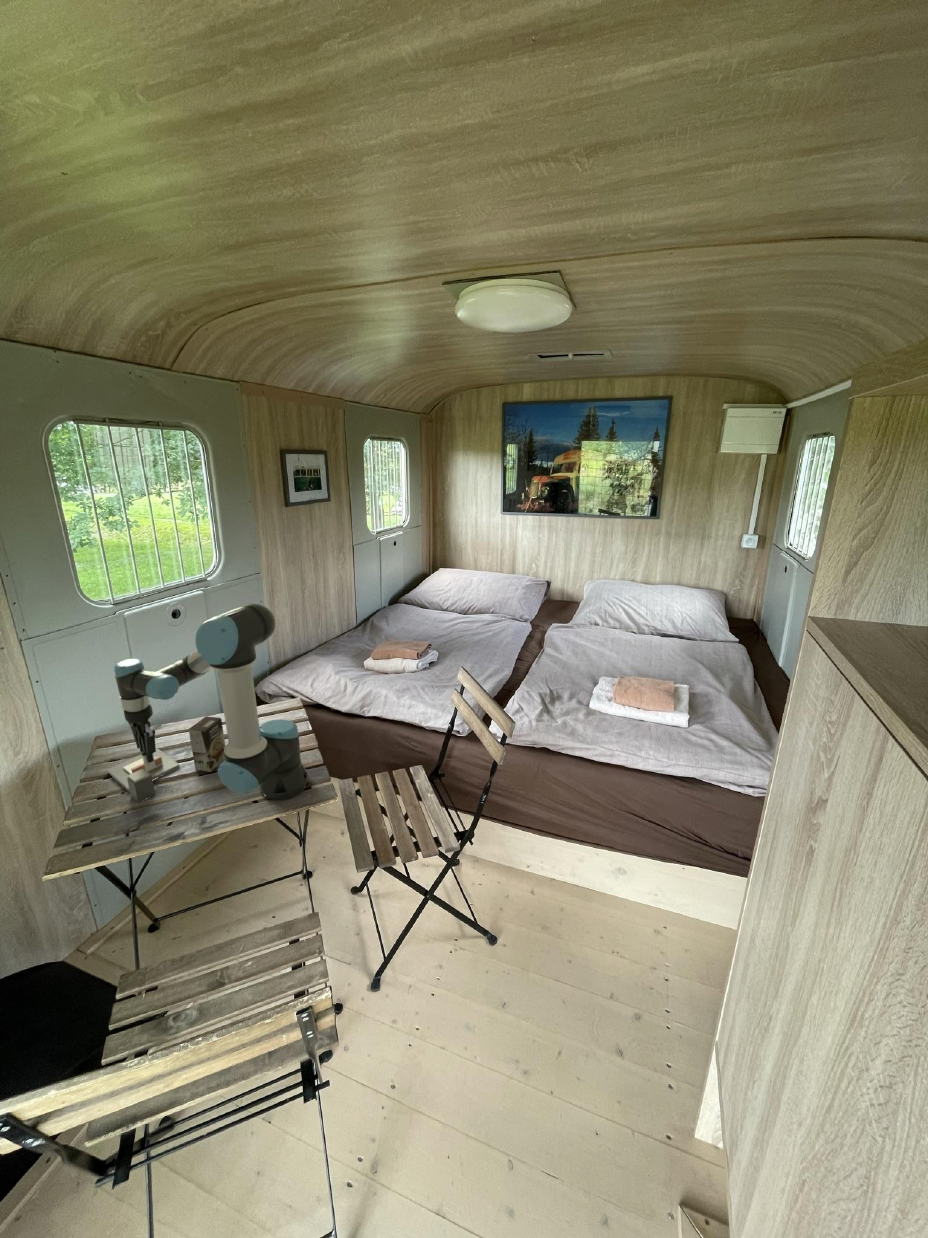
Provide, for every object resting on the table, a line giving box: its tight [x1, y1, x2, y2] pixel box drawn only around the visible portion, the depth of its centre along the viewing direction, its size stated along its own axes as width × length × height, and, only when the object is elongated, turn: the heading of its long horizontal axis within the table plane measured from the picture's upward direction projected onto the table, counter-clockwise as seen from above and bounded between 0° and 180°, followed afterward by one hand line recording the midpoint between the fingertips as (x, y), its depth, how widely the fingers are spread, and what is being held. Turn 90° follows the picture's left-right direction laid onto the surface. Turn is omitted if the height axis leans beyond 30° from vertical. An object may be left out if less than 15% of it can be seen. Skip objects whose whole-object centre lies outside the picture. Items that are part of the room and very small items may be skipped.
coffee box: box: [188, 715, 226, 773], centre depth 173 cm, size 9×6×16 cm
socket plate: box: [106, 747, 181, 793], centre depth 171 cm, size 16×16×1 cm
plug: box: [127, 769, 156, 804], centre depth 158 cm, size 5×5×8 cm
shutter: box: [123, 756, 163, 774], centre depth 170 cm, size 8×9×3 cm
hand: (150, 768), depth 166 cm, fingers closed
